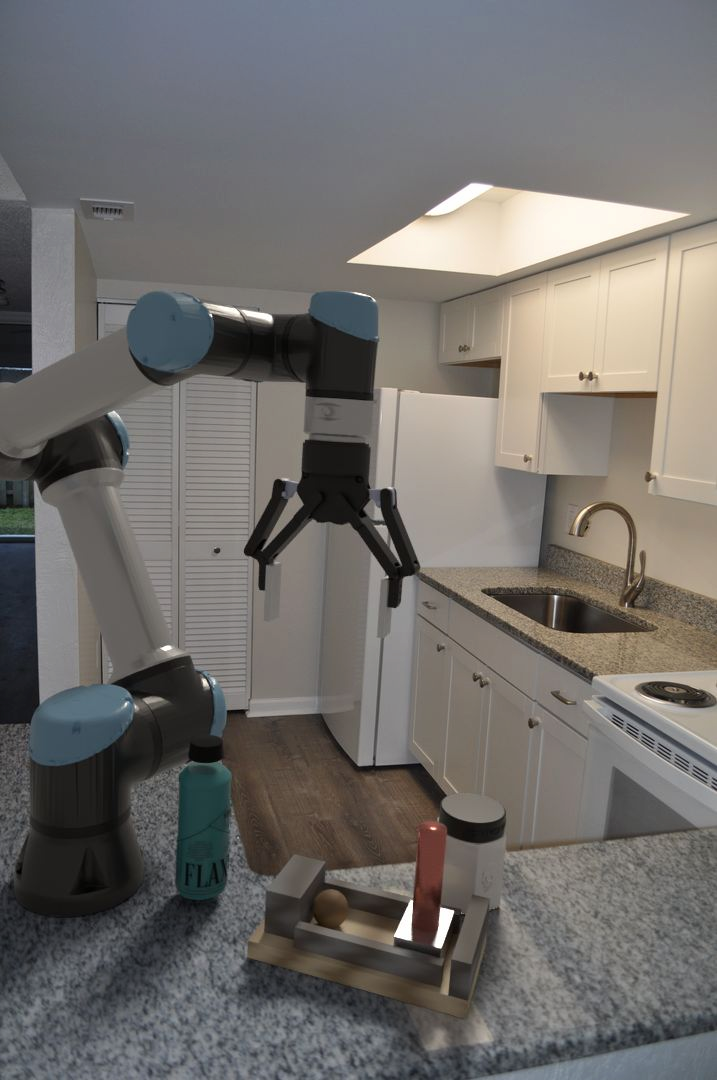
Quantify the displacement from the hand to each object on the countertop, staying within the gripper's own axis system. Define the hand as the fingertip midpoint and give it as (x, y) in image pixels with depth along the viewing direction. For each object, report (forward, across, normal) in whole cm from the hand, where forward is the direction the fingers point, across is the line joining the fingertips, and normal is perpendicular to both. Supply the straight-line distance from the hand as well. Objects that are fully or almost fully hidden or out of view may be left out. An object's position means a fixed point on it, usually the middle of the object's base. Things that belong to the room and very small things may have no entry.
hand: (326, 627), depth 92 cm
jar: (+35, +17, +10) cm, 40 cm away
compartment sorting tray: (+35, +9, -5) cm, 36 cm away
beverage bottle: (+35, -13, -3) cm, 37 cm away
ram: (+33, +15, -5) cm, 36 cm away
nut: (+33, +5, -5) cm, 33 cm away
